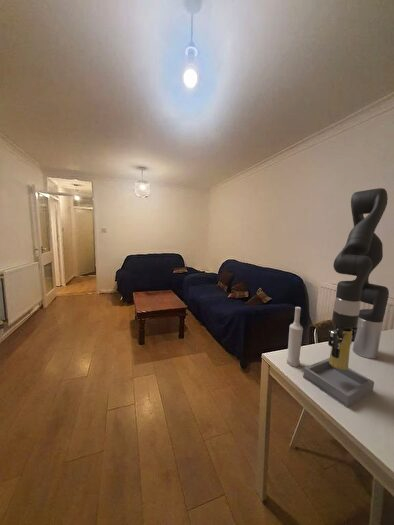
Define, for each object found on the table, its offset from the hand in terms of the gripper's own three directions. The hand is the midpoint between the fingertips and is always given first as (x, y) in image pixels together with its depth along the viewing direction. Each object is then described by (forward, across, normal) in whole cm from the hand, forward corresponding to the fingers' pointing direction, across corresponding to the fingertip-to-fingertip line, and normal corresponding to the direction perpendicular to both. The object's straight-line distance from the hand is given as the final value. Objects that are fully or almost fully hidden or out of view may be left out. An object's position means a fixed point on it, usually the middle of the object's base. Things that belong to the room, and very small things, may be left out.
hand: (340, 354), depth 79 cm
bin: (+12, 0, 0) cm, 12 cm away
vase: (+4, 0, 0) cm, 4 cm away
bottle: (+12, +4, -16) cm, 20 cm away
